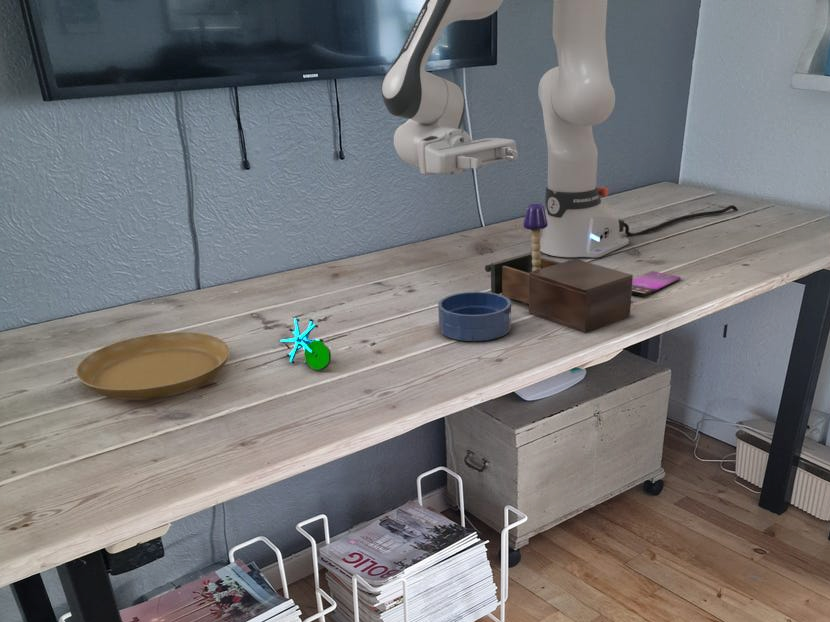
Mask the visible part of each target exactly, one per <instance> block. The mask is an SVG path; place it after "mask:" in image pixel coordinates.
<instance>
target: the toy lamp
mask: <svg viewBox="0 0 830 622" xmlns="http://www.w3.org/2000/svg"><path fill="white" fill-rule="evenodd" d="M547 226H548V223H547V219H546V215H545V208H544V206H543V205H542V204H540V203H530V204H528V205H527V207H526V210H525V216H524V219H523V228H524V229H526V230H530V233H531V237H530V238H531V239H530V240H531V250H532V251H531V252H532V258H533V259H532V265H533V267H532V271H536V270H539V269H541V267H540V265H541V260H540V257H542V256H541V255H542V254H541V253H542V252H541V251H540V248H541V246H540V238H541V230H543V228H546V227H547Z"/></svg>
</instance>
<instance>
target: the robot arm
mask: <svg viewBox="0 0 830 622" xmlns="http://www.w3.org/2000/svg"><path fill="white" fill-rule="evenodd" d="M503 2H504V0H425V1H424V3H423V5H422V7H421V9H420V11H419V13H418V15H417V16H416V19H415V21H414V23H413V25H412V27H411V29H410V31H409V32H408V35H407V37H406V39H405V41H404V43H403V45H402V47H401V49H400V51H399V53H398V55H397V56H396V57H395V60H394V61H393V63H392V64H391V65H390V67H389V68H388V70H387V72H386V73H385V76H383V79H382V83H381V85H380V86H381V88H380V90H381V98H382V100H383V103H384V106H385V107H386V109H387V112H389V113H390V114H391V115H392V116H394V117H399V118H402V119H405V120H406V119H407V120H406V122H403V124H401V125H399V126H398V127H397V128H396V129H395V132H394V134H393V146H394V149H395V152H396V153H397V155H398V156H399V158H400V159H401V160H402V161H404V162H405V163H407V164H409V165H411V166H413V167H417V168H419V173H420V174H421V175H425V176H427V175H448V174H449V175H453V176H457V175H458V176H459V175H460V174H463V173H464V172H465V171H466V170H469V169H474V170H476V169H477V170H478V169H480V168H483V166H486V165H492V164H496V163H501V162H506V161H508V162H509V161H510V162H514V161H518V159H519V151H518V150H517V143H516V141H515V139H510V138H502V137H485V138H480V139H475V140H472V138H471V136H470V134H469V133H468V132H467V131H465V130H463V129H461V127H462V125H463V121H464V118H465V112H466V99H465V95H464V92H463V90H462V88H461V86H459V85H458V84H457V83H454V82H452V81H449V80H448V79H445V78H444V77H441V76H439V75H438V76H437V75H435V74H433V73H431V72H429V71H426V65H427V62H428V60H429V58H430V56H431V55H432V53H433V50H434V49H435V47H436V45H437V43H438V40H439V39H440V36H442V35H441V34H442V33H443V31H444V30H445V29H446V28H447V27H448V26H449V25H451V24H453V23H455V22H458V21H473V20H474V21H475V20H481V19H485V18H488V17H490V16H491V15H493V14H494V13H495V12H497V11H498V10H499V8H500V7H501V5H502V4H503ZM552 8H553V10H552V29H551V30H552V31H551V32H552V33H551V35H552V39H553V42H554V45H555V50H556V55H557V63H558V66H555V67H553V68H551V69H549V70H547V71H546V72H545V73H544V74H543V75H542V77H541V78H540V81H539V83H538V88H537V95H538V100H539V103H540V105H541V109H542V117H543V125H544V132H545V138H546V144H547V145H546V146H547V186H546V187H545V192H544V203H545V209H544V211H545V215H546V219H547V223H548V226H547V227H546V228H543V229H542V232H541V236H540V246H541V248H540V253H543V254H546V255H549V256H552V257H553V256H554V257H560V258H593V259H594V258H601V257H603V256H605V255H607V254H611V253H612V252H614V251H616V250H619V249H621V248H623V247H625V246H628V245H629V244H630V240H629V238H627V237H626V236H628V237H634V236H641V235H645V234H648V233H650V232H654V231H657V230H659V229H661V228H664V227H667V226H668V225H671V224H674V223H678V222H681V221H684V220H688V219H692V218H699V217H703V216H711V215H720V214H723V213H726V212H728V211H729V210H733V211H734V212H737V211H739V209H738V208H737V206H736V205H733V204H732V205H728V206H726V207H724V208H722V209H718V210H711V211H702V212H697V213H692V214H691V213H690V214H687V215H682V216H679V217H676V218H672V219H670V220H667V221H664V222H662V223H660V224H658V225H655V226H652V227H649V228H646V229H643V230H641V231H638V232H635V233H633V232H630V226H629V224H628V223H627V222H625V220H623V219H619V218H618V217H617V216H616V214H614V213H613V212H612V211H611V210H610V209H608V208H607V207H606V206H605V205H604V204H603V203H602V200H601V197H605V198H607V197H608V196H609V194H610V189H609V187H603V186H600V187H599V188H598V187H597V178H598V177H597V176H598V160H599V159H598V156H599V153H598V148H597V145H596V142H595V138H594V133H593V126H597V125H600V124H602V123H604V122H605V121H606V120H607V119H608V118H609V117H610V116H611V115H612V113H613V112H614V108H615V104H616V92H615V89H614V86H613V85H612V82H611V78H610V70H609V69H610V68H609V62H608V61H609V60H608V51H607V42H606V41H607V40H606V34H607V33H606V31H607V29H606V28H607V13H608V0H553V7H552ZM624 229H625V230H624ZM622 232H624V233H625V235H626V236H623V235H621V234H620V233H622ZM727 333H728V323H727V324H724V326H723V334H722V338H724V339H725V338H727Z"/></svg>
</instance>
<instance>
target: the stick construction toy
mask: <svg viewBox="0 0 830 622" xmlns="http://www.w3.org/2000/svg"><path fill="white" fill-rule="evenodd" d="M293 319H294V328H295V329H293V328H290V327H289V328H288V331H289V332H291V333H292V335H294V336H295V337H292V338H291V337H290V338H284V339H280V340H279V341H280V343H282V344H285V343H294V346H293V349H292V351H291V352H289V353H286V354H285V357H288V358H290V359H289V363H291V364H295V363H296V361H295V357H296V354H297V353H298V352H299V350H301V349H302V348H303V353H304V361H303V362H304V364H307V365H309V366H310V368H311V369H313V370H315V371H322V370H325V369H326V368H327V367H328V366H329V365H330V363H331V359H332V354H331V350H330V348H329V346H327V345H326V344H325V343H324V341H325V340H324V339H322V338H318V339H309V337H310V334H311V332H312V331H313V330H314V329H315V328H316V329H318V328H319V325H318V324H315V323H314V321H315V319H312V318H310V317H309V318H308V321H309V324H308V326H307V329H306V330H305V331H303V332H302V333H301V331H300V326H299V322H300V319H299V318H297V317H294V318H293Z"/></svg>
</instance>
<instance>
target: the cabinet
mask: <svg viewBox="0 0 830 622" xmlns="http://www.w3.org/2000/svg"><path fill="white" fill-rule="evenodd" d="M633 279H634V275H633V274H631V273H627V272H624V271H621V270H617V269H614V268H609V267H607V266H603V265H600V264H595V263H592V262H588V261H585V260H581V259H577V258H573V259H570V260H566V261H563V262H560V263H559V264H556V265H553V266H549V267H546V268H542V269H539V270H536V271H532V272H530V277H529V304H528V314H529V315H533V316H536V317H537V318H538V317H539V318H541V319H544V320H547V321H550V322H553V323H556V324H558V325H561V326H564V327H567V328H570V329H572V330H575V331H578V332H581V333H584V334H586V333H588V332H592V331H594V330H597V329H601V328H602V327H605V326H608V325H611V324H614V323H616V322H619V321H621V320H624V319H626V318H629V317H631V304H632V294H633V293H632V280H633Z"/></svg>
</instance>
